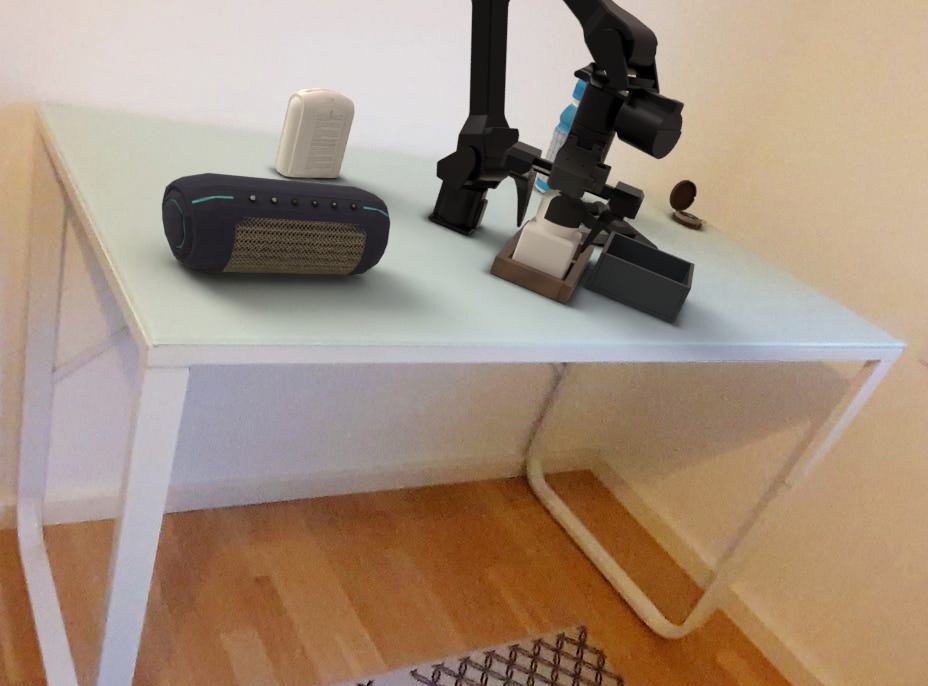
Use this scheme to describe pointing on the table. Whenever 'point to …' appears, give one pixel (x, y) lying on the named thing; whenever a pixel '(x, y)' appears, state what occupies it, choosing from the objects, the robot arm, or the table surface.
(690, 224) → the compass
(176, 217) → the portable speaker
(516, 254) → the medicine bottle
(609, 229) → the door handle
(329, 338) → the table surface
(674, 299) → the tote
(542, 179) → the beverage bottle
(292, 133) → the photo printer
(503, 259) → the frame
